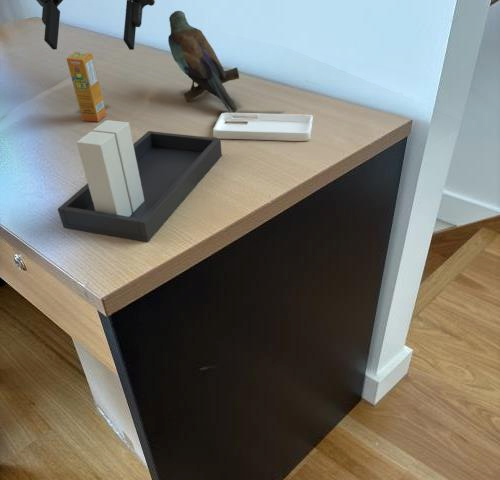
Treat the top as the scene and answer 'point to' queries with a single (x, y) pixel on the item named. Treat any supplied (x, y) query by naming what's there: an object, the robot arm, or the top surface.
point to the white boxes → (111, 168)
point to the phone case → (265, 127)
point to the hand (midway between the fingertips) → (89, 45)
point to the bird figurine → (199, 61)
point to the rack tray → (149, 186)
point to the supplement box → (86, 86)
